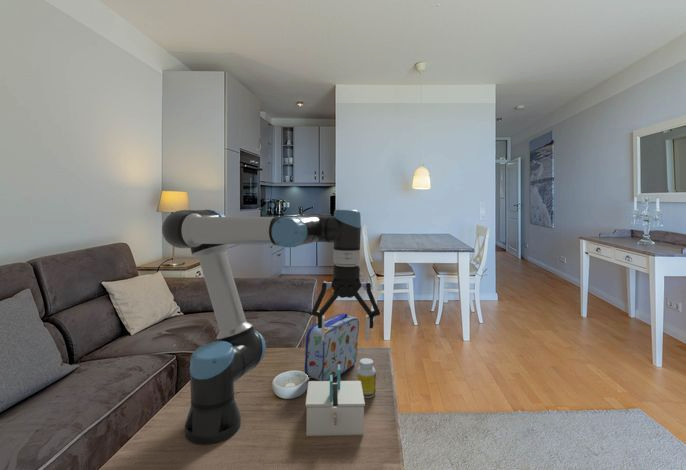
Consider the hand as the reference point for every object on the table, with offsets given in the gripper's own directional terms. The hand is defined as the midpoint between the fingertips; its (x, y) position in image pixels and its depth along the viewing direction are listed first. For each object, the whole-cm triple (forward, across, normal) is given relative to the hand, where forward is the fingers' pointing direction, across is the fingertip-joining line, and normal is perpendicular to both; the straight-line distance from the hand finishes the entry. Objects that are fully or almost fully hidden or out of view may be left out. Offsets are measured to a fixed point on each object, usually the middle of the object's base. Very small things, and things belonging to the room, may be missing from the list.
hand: (345, 339), depth 100 cm
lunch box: (+27, -2, +35) cm, 44 cm away
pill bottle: (+26, +9, +18) cm, 33 cm away
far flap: (+18, +2, +3) cm, 18 cm away
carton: (+26, -3, +2) cm, 26 cm away
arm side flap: (+18, -7, +3) cm, 20 cm away
